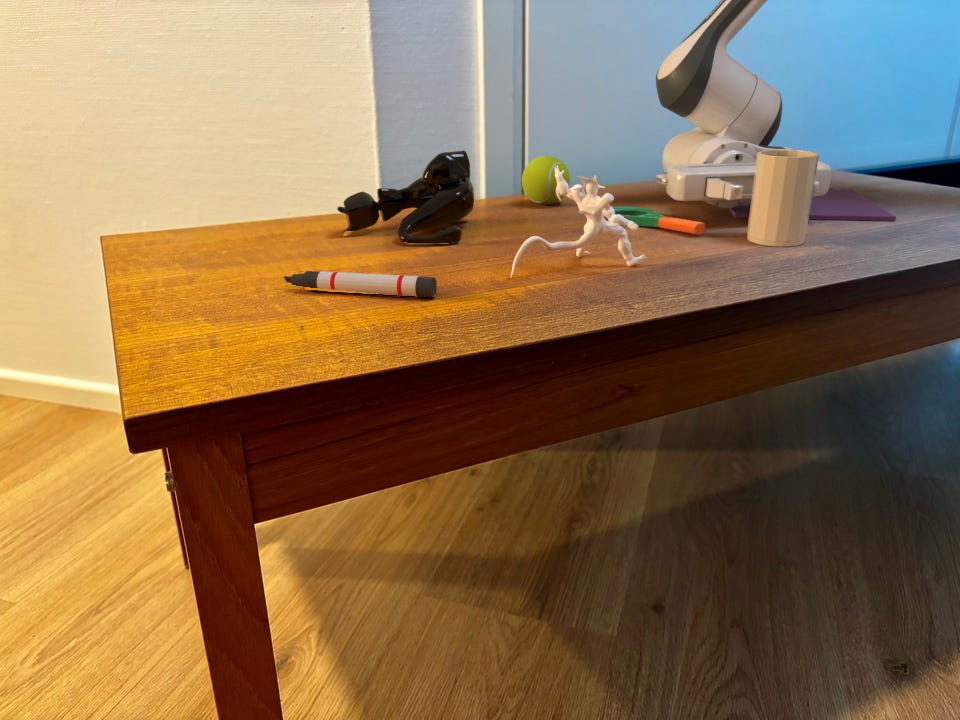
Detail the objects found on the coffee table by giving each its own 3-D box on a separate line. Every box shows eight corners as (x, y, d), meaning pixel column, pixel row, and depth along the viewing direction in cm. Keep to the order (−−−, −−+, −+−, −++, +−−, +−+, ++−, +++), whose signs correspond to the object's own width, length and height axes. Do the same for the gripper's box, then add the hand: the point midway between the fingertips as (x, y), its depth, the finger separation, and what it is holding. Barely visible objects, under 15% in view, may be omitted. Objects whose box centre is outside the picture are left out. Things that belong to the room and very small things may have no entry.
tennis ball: (578, 203, 109) (580, 155, 107) (550, 211, 104) (551, 160, 102) (540, 198, 114) (541, 151, 111) (512, 205, 109) (512, 156, 106)
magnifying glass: (594, 219, 99) (595, 206, 98) (626, 213, 102) (627, 201, 101) (682, 240, 87) (684, 226, 87) (715, 233, 91) (717, 219, 90)
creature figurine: (659, 244, 79) (633, 154, 70) (635, 323, 73) (604, 235, 65) (561, 248, 85) (526, 165, 76) (531, 321, 79) (491, 240, 70)
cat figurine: (507, 256, 92) (371, 298, 88) (464, 205, 102) (339, 240, 97) (504, 186, 86) (356, 227, 81) (458, 138, 95) (324, 173, 90)
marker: (437, 294, 70) (436, 274, 69) (431, 301, 68) (430, 280, 67) (289, 286, 73) (287, 267, 72) (280, 292, 71) (277, 272, 71)
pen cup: (797, 234, 89) (810, 149, 86) (810, 247, 84) (824, 157, 80) (743, 233, 91) (753, 149, 87) (751, 246, 85) (763, 156, 81)
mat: (850, 193, 113) (851, 189, 113) (895, 221, 95) (896, 216, 95) (716, 191, 117) (716, 187, 116) (734, 218, 98) (735, 213, 98)
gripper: (652, 152, 97) (692, 167, 84) (799, 146, 99) (860, 160, 86) (649, 200, 99) (687, 221, 87) (792, 194, 101) (850, 214, 89)
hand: (775, 191), depth 87 cm, fingers open, 8 cm apart
